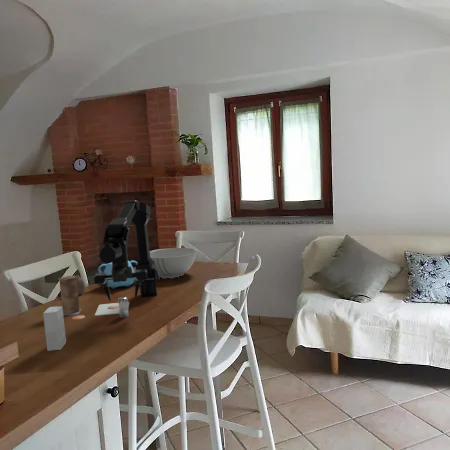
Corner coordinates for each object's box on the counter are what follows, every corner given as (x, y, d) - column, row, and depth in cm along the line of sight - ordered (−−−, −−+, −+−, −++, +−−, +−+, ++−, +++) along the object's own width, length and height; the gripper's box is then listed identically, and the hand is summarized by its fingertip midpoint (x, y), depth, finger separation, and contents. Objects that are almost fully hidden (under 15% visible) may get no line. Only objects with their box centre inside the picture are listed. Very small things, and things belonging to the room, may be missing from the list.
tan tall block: (73, 309, 176) (69, 275, 174) (80, 311, 173) (77, 277, 171) (61, 312, 172) (58, 278, 170) (69, 314, 169) (65, 279, 167)
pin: (128, 314, 166) (127, 296, 165) (128, 317, 162) (127, 298, 162) (120, 315, 165) (118, 297, 164) (119, 318, 162) (118, 299, 161)
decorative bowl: (146, 284, 211) (145, 259, 209) (143, 273, 237) (141, 250, 235) (202, 278, 217) (200, 254, 215) (193, 268, 243) (191, 246, 241)
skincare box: (52, 343, 140) (48, 306, 139) (66, 342, 140) (62, 305, 139) (46, 351, 134) (42, 312, 133) (61, 350, 134) (57, 311, 133)
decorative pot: (95, 288, 209) (92, 259, 208) (119, 280, 223) (117, 253, 221) (120, 291, 201) (118, 261, 199) (144, 282, 215) (142, 255, 213)
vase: (80, 296, 195) (78, 277, 194) (66, 296, 197) (64, 277, 196) (88, 292, 202) (86, 273, 201) (74, 292, 204) (72, 273, 203)
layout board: (129, 302, 182) (129, 301, 182) (127, 315, 166) (127, 313, 165) (64, 308, 178) (64, 307, 178) (55, 322, 162) (55, 320, 162)
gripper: (90, 264, 152) (94, 308, 154) (145, 259, 155) (148, 303, 157) (94, 258, 163) (97, 299, 165) (145, 253, 166) (148, 294, 168)
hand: (123, 299), depth 163 cm, fingers open, 9 cm apart
